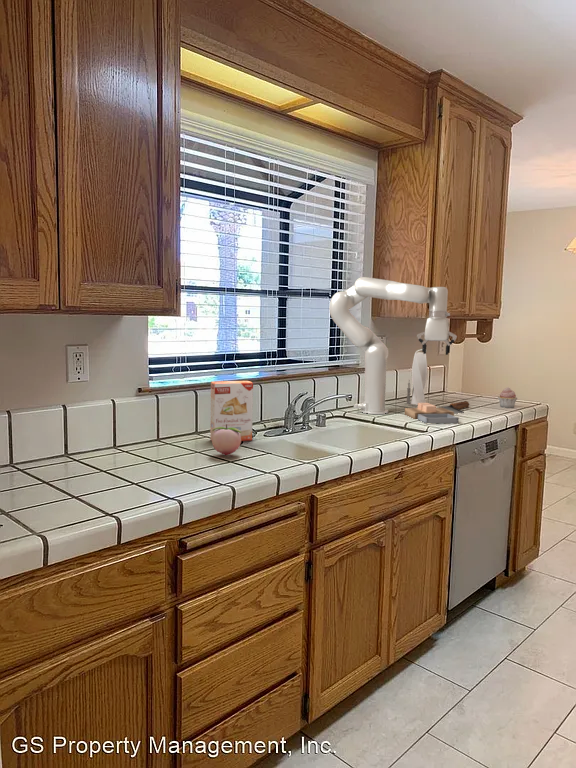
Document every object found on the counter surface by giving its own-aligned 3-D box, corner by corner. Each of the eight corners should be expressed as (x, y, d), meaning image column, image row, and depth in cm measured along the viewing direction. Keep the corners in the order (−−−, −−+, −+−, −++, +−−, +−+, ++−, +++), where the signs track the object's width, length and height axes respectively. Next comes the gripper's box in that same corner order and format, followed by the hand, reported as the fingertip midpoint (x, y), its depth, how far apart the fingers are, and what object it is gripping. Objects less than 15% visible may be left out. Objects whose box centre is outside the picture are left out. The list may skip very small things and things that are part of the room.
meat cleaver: (447, 418, 254) (448, 409, 253) (425, 414, 262) (425, 406, 261) (484, 411, 277) (484, 402, 276) (463, 408, 285) (463, 400, 284)
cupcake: (518, 406, 287) (520, 387, 286) (514, 409, 279) (516, 388, 278) (499, 405, 292) (500, 385, 291) (494, 407, 284) (496, 387, 283)
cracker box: (214, 443, 197) (214, 383, 194) (210, 440, 202) (209, 381, 200) (253, 440, 202) (253, 381, 199) (247, 437, 207) (248, 380, 205)
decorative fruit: (210, 459, 176) (209, 427, 175) (212, 452, 184) (212, 421, 183) (240, 459, 176) (240, 427, 175) (242, 452, 184) (242, 422, 183)
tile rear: (421, 409, 255) (421, 404, 254) (417, 408, 259) (417, 402, 259) (430, 409, 255) (431, 404, 255) (426, 408, 260) (427, 402, 259)
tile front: (426, 412, 249) (426, 406, 249) (422, 410, 254) (422, 404, 253) (436, 411, 250) (436, 406, 250) (431, 410, 254) (432, 404, 254)
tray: (426, 424, 237) (426, 418, 237) (417, 419, 247) (417, 414, 247) (458, 423, 239) (458, 417, 239) (447, 419, 249) (448, 413, 249)
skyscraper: (417, 403, 294) (419, 348, 291) (429, 405, 287) (431, 349, 284) (405, 404, 289) (407, 349, 286) (417, 406, 283) (420, 350, 279)
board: (414, 419, 247) (414, 412, 247) (404, 414, 259) (404, 408, 259) (453, 418, 250) (454, 412, 250) (442, 414, 262) (442, 407, 262)
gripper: (459, 315, 252) (456, 354, 254) (419, 315, 258) (417, 352, 261) (457, 315, 245) (454, 355, 247) (416, 314, 252) (414, 353, 254)
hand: (435, 354), depth 254 cm, fingers open, 9 cm apart
